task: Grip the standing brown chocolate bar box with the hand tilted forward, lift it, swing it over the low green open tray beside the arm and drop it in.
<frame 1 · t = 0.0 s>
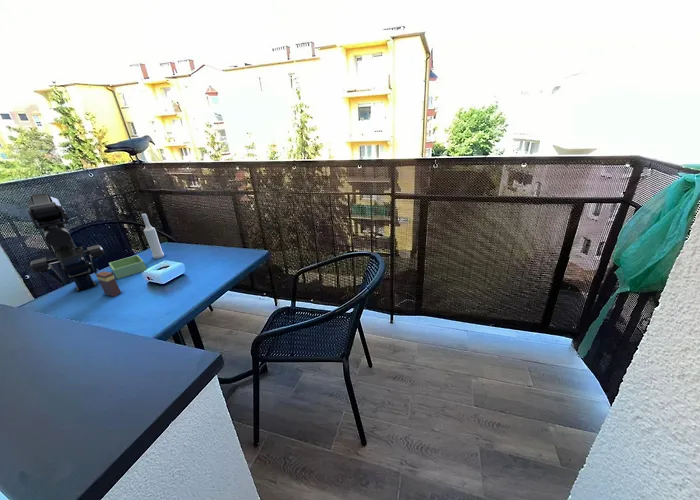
hand: (79, 278, 101), 15 cm above the table, tool pointing down, fingers open, 9 cm apart
bottle: (159, 257, 152), on the table
chocolate bar: (113, 293, 118), on the table
green open tray: (129, 270, 138), on the table
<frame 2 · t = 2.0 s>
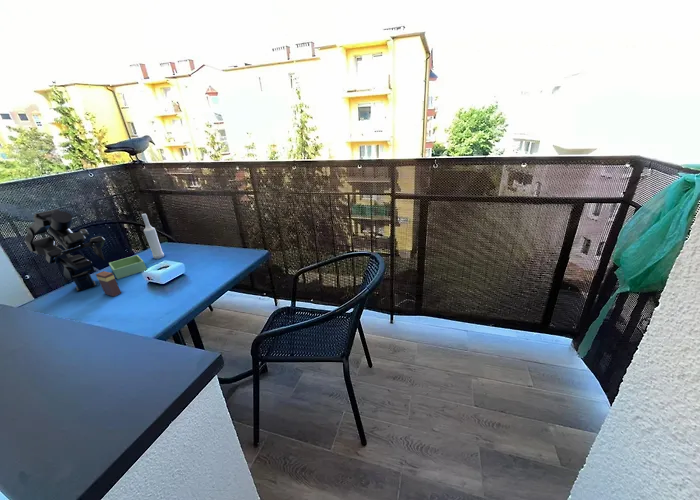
hand: (91, 264, 114), 14 cm above the table, tool tilted 40°, fingers open, 9 cm apart
nothing on the table moved.
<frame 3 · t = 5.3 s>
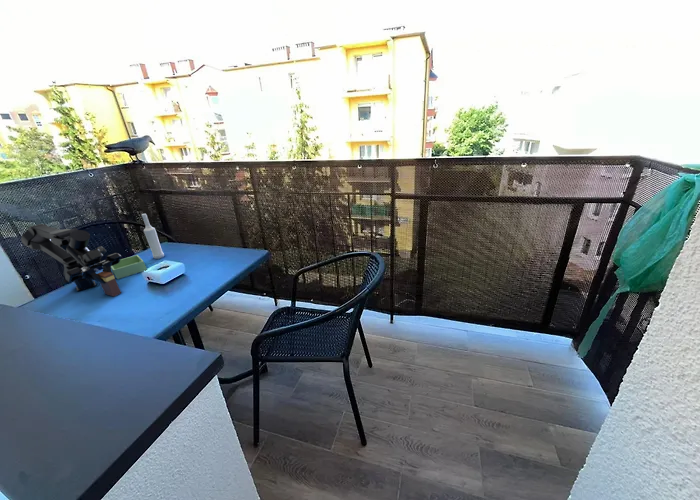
hand: (109, 281, 115), 7 cm above the table, tool tilted 45°, fingers closed on chocolate bar, 3 cm apart
chocolate bar: (113, 293, 118), on the table, touching gripper
everything else where it was.
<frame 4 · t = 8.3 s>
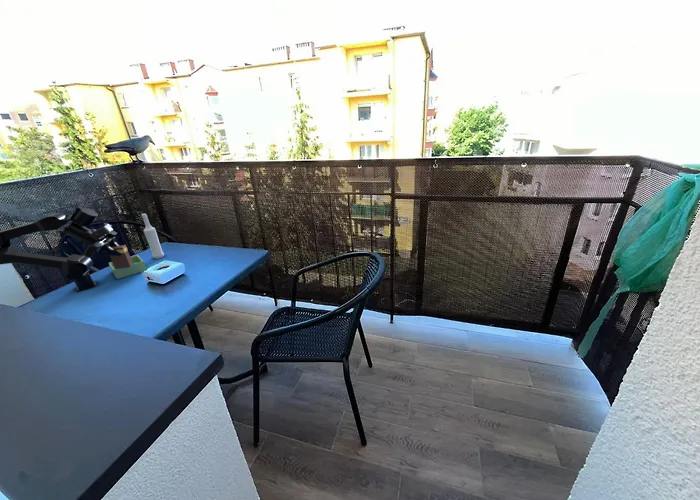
hand: (122, 253, 124), 13 cm above the table, tool tilted 45°, fingers closed on chocolate bar, 3 cm apart
chocolate bar: (124, 266, 127), point 7 cm above the table, touching gripper
everything else where it was.
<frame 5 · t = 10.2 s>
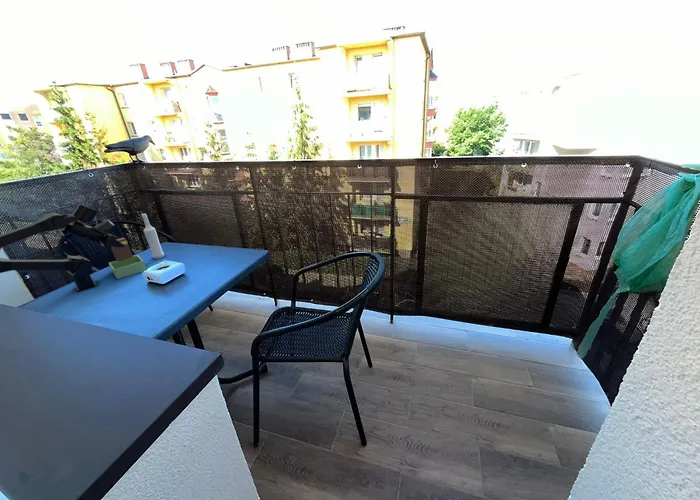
hand: (123, 245, 133), 14 cm above the table, tool tilted 45°, fingers closed on chocolate bar, 3 cm apart
chocolate bar: (124, 258, 135), point 7 cm above the table, touching gripper
everything else where it was.
when the fingers open (9 cm above the table, at t = 11.7 s): chocolate bar drops 2 cm, resting on green open tray.
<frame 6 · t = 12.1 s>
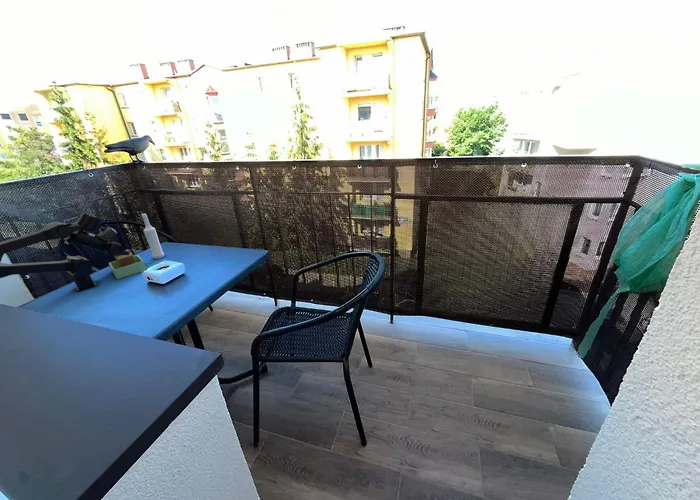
hand: (125, 252, 135), 10 cm above the table, tool tilted 45°, fingers open, 7 cm apart
chocolate bar: (129, 269, 138), resting on green open tray
everything else where it was.
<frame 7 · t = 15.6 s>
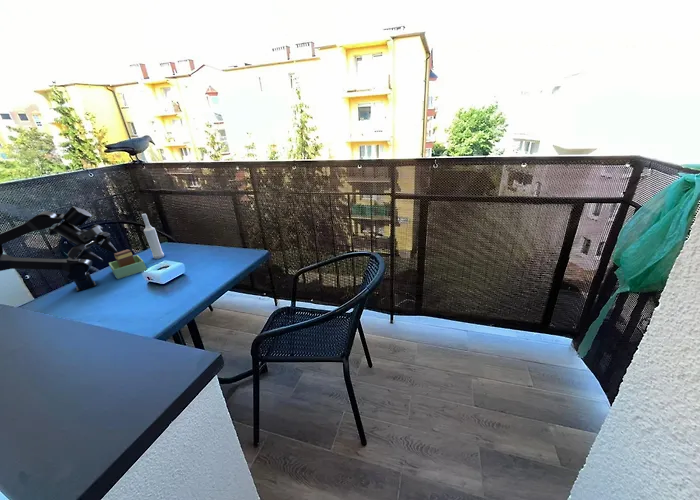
hand: (110, 256, 121), 14 cm above the table, tool tilted 40°, fingers open, 9 cm apart
nothing on the table moved.
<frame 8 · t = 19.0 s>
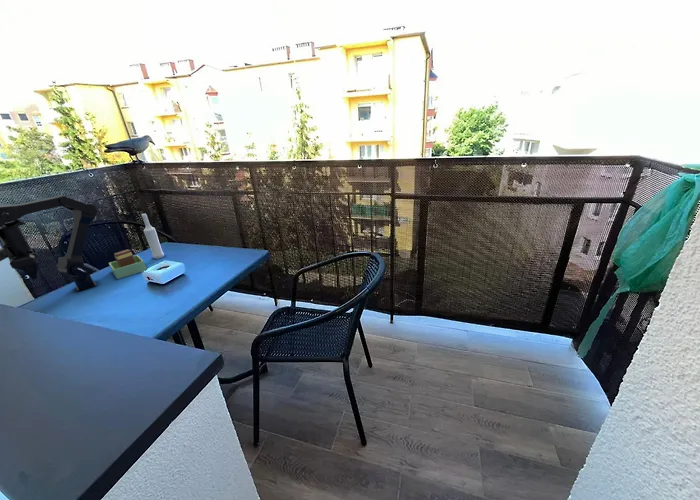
hand: (34, 275, 108), 13 cm above the table, tool pointing down, fingers open, 9 cm apart
nothing on the table moved.
at the end: chocolate bar inside the target area in the green open tray (0.1 cm from its centre), point 0.5 cm above the green open tray's base; the gripper is holding nothing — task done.
